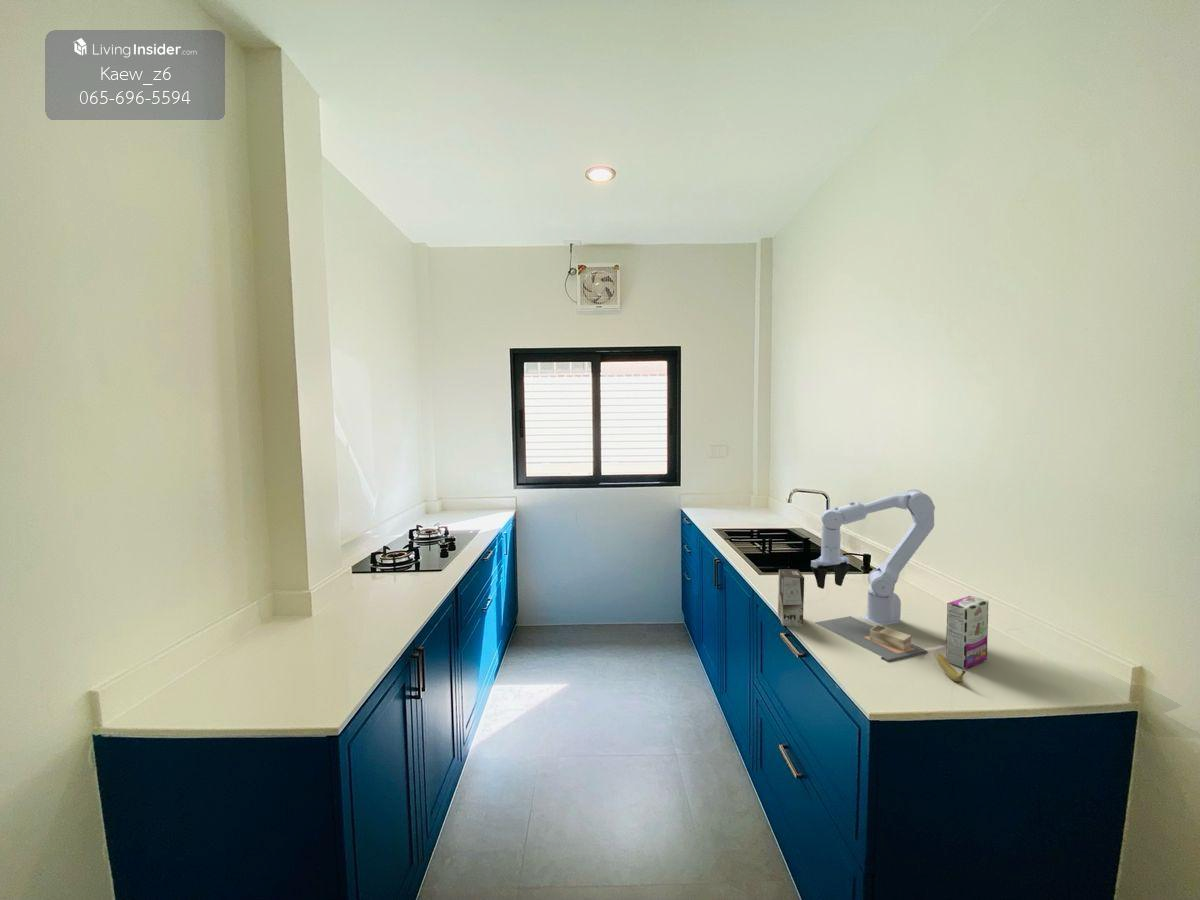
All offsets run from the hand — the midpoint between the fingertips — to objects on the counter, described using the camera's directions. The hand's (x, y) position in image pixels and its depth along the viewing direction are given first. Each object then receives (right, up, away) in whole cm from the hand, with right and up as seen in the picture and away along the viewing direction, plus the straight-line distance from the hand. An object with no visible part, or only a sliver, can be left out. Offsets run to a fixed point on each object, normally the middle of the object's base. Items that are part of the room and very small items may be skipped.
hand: (829, 586), depth 163 cm
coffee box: (-16, -10, -6) cm, 20 cm away
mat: (+3, -10, -18) cm, 21 cm away
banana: (+12, -12, -40) cm, 43 cm away
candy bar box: (+22, -11, -32) cm, 40 cm away
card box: (+7, -10, -22) cm, 25 cm away
